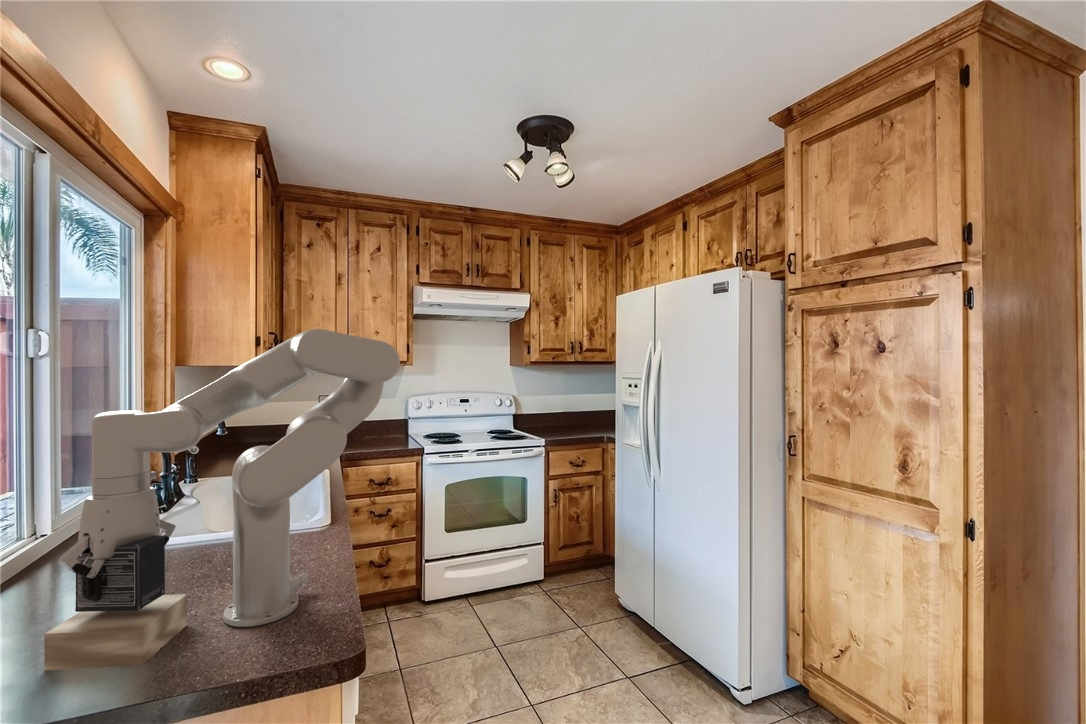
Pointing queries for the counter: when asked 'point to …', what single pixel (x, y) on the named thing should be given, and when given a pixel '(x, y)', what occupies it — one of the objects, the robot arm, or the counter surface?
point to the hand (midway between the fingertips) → (122, 587)
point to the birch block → (114, 635)
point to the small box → (128, 577)
